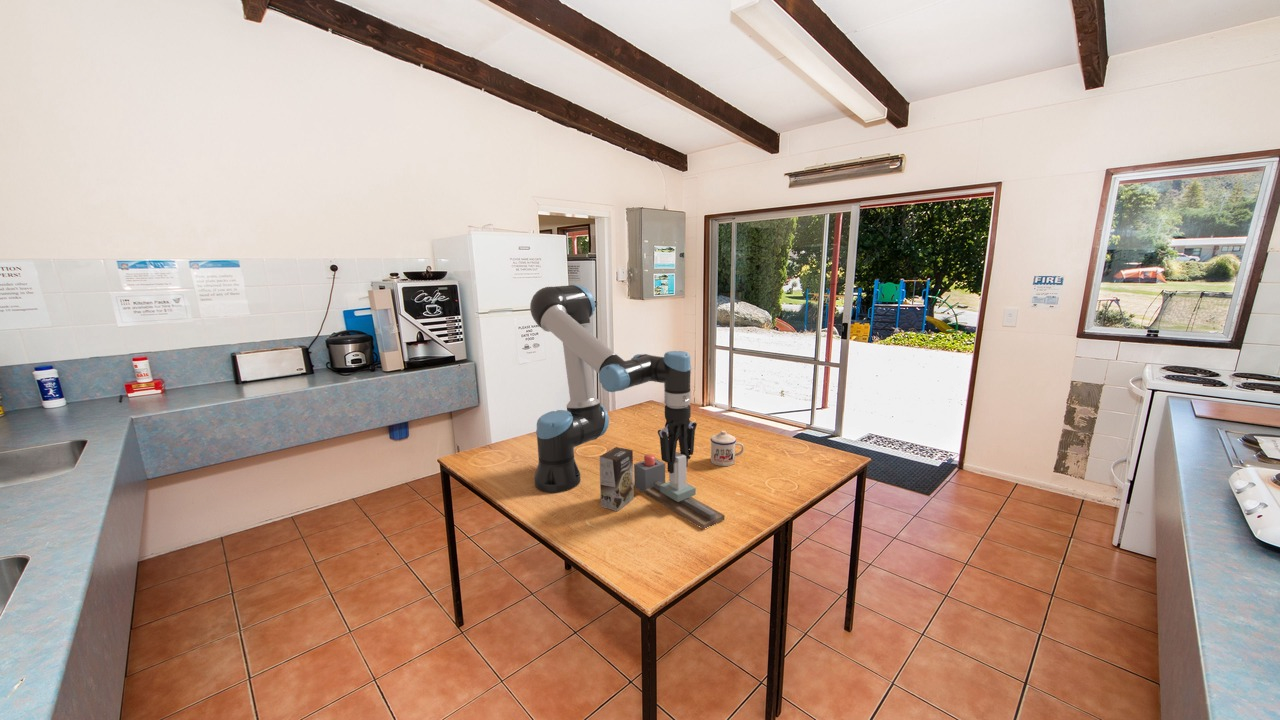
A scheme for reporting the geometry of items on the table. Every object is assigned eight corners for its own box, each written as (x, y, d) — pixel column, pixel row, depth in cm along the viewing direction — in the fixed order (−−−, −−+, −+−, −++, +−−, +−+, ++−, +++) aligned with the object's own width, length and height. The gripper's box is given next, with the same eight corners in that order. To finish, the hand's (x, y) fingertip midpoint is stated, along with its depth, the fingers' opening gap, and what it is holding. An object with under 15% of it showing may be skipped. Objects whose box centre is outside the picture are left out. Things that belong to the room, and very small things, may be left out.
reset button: (648, 474, 148) (648, 459, 147) (642, 470, 151) (642, 456, 150) (657, 471, 150) (656, 456, 149) (650, 467, 153) (650, 453, 152)
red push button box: (645, 493, 147) (645, 470, 145) (634, 487, 152) (634, 464, 150) (665, 486, 152) (665, 463, 150) (653, 480, 156) (653, 457, 155)
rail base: (703, 529, 127) (704, 519, 126) (645, 493, 147) (645, 485, 146) (724, 520, 131) (724, 510, 131) (665, 486, 152) (665, 477, 151)
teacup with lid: (711, 466, 166) (711, 435, 164) (709, 456, 175) (709, 426, 173) (745, 467, 165) (746, 436, 163) (741, 456, 174) (742, 427, 172)
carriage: (677, 502, 135) (677, 462, 133) (660, 491, 141) (660, 454, 139) (695, 494, 139) (695, 456, 137) (677, 485, 145) (677, 448, 143)
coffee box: (617, 512, 137) (616, 460, 133) (600, 506, 140) (598, 456, 137) (634, 498, 144) (633, 449, 141) (617, 493, 148) (616, 445, 144)
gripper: (664, 413, 127) (665, 493, 132) (706, 402, 137) (706, 477, 141) (647, 407, 133) (648, 483, 138) (689, 397, 142) (689, 468, 147)
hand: (677, 480), depth 139 cm, fingers closed on carriage, 3 cm apart
